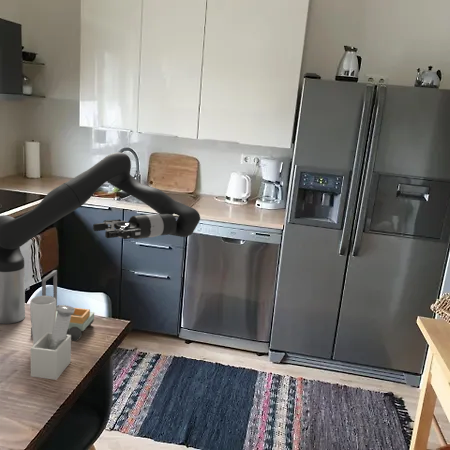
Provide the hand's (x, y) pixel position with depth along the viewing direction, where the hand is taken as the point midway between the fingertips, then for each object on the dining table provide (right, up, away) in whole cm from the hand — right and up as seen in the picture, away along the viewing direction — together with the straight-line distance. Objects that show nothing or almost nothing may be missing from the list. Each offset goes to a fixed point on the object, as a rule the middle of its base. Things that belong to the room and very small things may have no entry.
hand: (99, 231), depth 140 cm
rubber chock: (-19, -31, -1) cm, 37 cm away
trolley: (-11, -31, +4) cm, 33 cm away
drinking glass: (-14, -34, -8) cm, 37 cm away
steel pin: (-8, -35, -17) cm, 40 cm away
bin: (-8, -36, -17) cm, 41 cm away
